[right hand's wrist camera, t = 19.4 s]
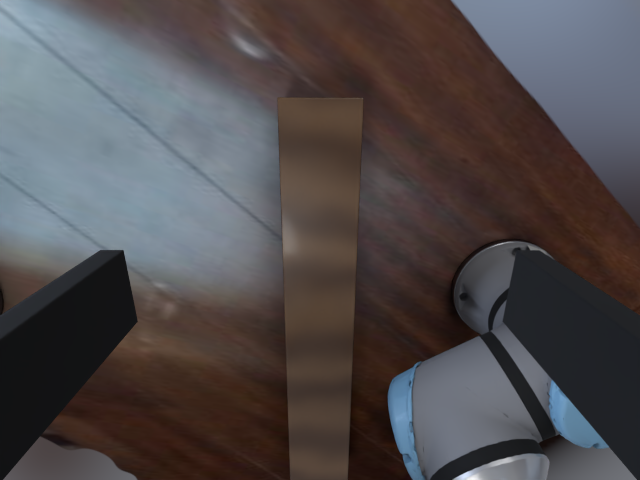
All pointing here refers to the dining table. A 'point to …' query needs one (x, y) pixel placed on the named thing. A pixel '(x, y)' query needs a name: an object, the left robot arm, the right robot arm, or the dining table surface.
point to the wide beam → (319, 276)
